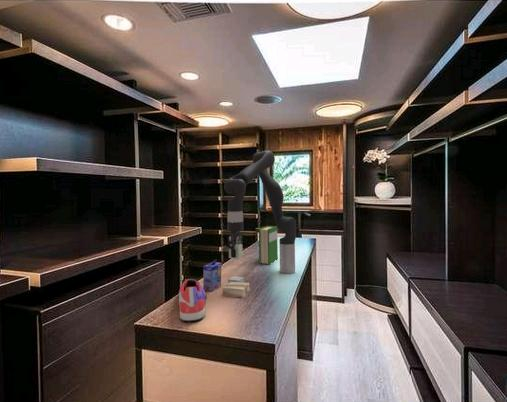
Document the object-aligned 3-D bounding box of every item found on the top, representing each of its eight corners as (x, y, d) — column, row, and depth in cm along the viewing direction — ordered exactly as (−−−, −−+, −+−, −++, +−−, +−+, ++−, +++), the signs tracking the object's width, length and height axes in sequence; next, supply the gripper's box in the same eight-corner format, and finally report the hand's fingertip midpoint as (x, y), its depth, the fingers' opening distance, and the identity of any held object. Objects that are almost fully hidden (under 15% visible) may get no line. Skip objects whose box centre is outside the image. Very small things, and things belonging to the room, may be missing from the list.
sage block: (232, 256, 142) (232, 243, 142) (242, 256, 140) (242, 244, 140) (228, 258, 137) (228, 245, 137) (238, 258, 136) (238, 246, 136)
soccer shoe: (205, 290, 143) (204, 264, 143) (209, 322, 108) (209, 287, 107) (179, 293, 141) (178, 265, 140) (175, 326, 105) (174, 289, 105)
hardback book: (269, 265, 192) (269, 229, 191) (259, 264, 195) (258, 228, 194) (277, 259, 208) (277, 226, 208) (268, 258, 211) (267, 225, 210)
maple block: (230, 289, 145) (230, 281, 145) (249, 291, 142) (249, 283, 142) (223, 296, 135) (222, 288, 135) (243, 298, 132) (243, 289, 132)
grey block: (234, 283, 154) (233, 276, 154) (244, 284, 152) (243, 277, 151) (228, 286, 149) (228, 279, 149) (238, 288, 146) (238, 280, 146)
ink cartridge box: (212, 291, 141) (212, 262, 141) (202, 290, 143) (202, 261, 143) (222, 285, 150) (221, 258, 150) (212, 284, 152) (212, 257, 152)
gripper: (233, 219, 146) (234, 252, 147) (221, 221, 133) (222, 258, 133) (247, 219, 144) (248, 253, 144) (237, 222, 130) (237, 259, 131)
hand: (235, 255), depth 139 cm, fingers closed on sage block, 5 cm apart
